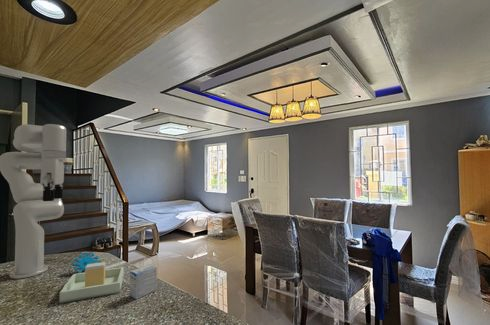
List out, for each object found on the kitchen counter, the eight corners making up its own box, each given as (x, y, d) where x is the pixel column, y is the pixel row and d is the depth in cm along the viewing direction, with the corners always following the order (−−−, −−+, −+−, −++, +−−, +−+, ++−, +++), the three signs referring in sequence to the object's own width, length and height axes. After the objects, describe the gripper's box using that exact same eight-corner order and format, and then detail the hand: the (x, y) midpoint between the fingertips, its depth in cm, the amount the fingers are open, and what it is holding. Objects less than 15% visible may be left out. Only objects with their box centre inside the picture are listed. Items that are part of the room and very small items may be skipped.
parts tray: (73, 283, 95) (73, 274, 95) (124, 275, 102) (124, 266, 102) (59, 303, 80) (59, 292, 80) (119, 292, 87) (119, 282, 87)
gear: (72, 274, 99) (74, 252, 106) (69, 281, 102) (72, 259, 109) (102, 270, 106) (103, 250, 113) (99, 277, 109) (100, 257, 115)
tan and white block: (87, 285, 91) (87, 264, 92) (105, 282, 93) (105, 261, 94) (84, 289, 88) (85, 267, 88) (103, 286, 90) (103, 265, 90)
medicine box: (149, 287, 91) (149, 264, 91) (156, 290, 88) (157, 266, 88) (129, 296, 84) (129, 271, 84) (136, 299, 82) (136, 274, 82)
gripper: (50, 157, 101) (49, 198, 100) (32, 154, 85) (31, 202, 84) (72, 157, 104) (71, 197, 103) (58, 154, 88) (57, 201, 87)
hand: (53, 199), depth 93 cm, fingers open, 9 cm apart
